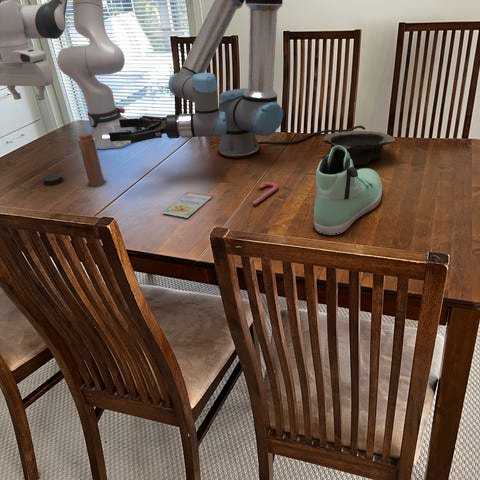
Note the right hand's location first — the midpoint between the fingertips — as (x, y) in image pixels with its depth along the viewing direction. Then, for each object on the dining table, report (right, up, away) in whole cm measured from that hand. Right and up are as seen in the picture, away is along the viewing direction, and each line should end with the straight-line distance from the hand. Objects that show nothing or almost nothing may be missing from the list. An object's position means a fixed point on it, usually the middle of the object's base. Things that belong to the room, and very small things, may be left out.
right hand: (114, 130), depth 157 cm
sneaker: (+72, -27, -18) cm, 79 cm away
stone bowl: (+83, -6, +14) cm, 84 cm away
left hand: (-28, +10, -1) cm, 29 cm away
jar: (-9, -16, +10) cm, 21 cm away
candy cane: (+48, -22, -7) cm, 53 cm away
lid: (-26, -14, +14) cm, 32 cm away
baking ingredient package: (+25, -26, -9) cm, 37 cm away
